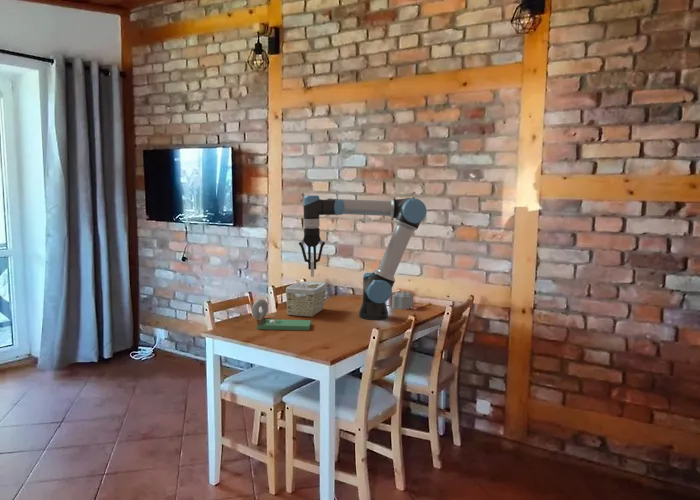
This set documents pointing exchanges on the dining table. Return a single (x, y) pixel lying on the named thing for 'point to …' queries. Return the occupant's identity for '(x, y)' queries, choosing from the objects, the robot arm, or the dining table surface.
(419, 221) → the robot arm
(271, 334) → the dining table surface
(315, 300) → the storage basket
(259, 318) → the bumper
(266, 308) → the donut
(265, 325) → the mat
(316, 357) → the dining table surface
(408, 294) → the lumpy-topped squat cylinder
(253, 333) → the dining table surface
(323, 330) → the dining table surface
